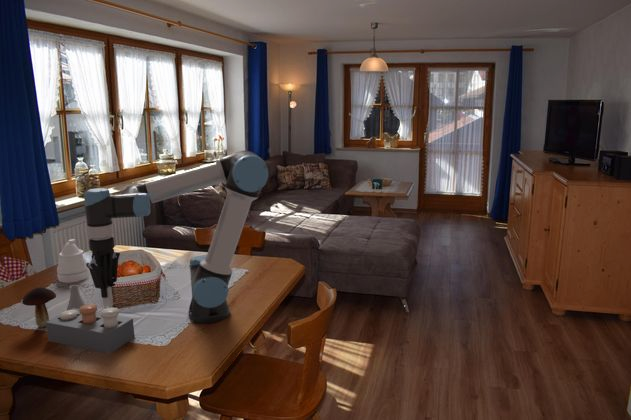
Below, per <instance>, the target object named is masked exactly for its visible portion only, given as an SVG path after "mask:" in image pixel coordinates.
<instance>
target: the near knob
mask: <svg viewBox="0 0 631 420" xmlns="http://www.w3.org/2000/svg"><path fill="white" fill-rule="evenodd" d="M119 311H120V310H119V308H118V307H108V308H107V307H106V308H104V309H102V310H100V312H99V313H101V317H102V318H103V321H104V327H105V328H110V329H112V328H114V327H116V326H117V325H118V318H117V316H119V313H120V312H119Z"/></svg>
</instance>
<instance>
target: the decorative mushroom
mask: <svg viewBox="0 0 631 420" xmlns="http://www.w3.org/2000/svg"><path fill="white" fill-rule="evenodd" d="M56 298H57V294H56V293H55V292H54V291H53V290H52V289H49V288H46V287H43V286H42V287H41V286H38V287H34V288H33V289H31V290H29V291H28V292H27V293H26V294H25V295H23V298H22V301H21V304H23V305H25V306H29V307H30V306H32V307H33V306H35V307H34V315H35V319H34V320H35V324H36V326H38V328H47V326H46V322H48V321H50V317H49V310H48V308H47V306H46V304H47V303H48V302H50V301H52V300H54V299H56Z"/></svg>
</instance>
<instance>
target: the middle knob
mask: <svg viewBox="0 0 631 420" xmlns="http://www.w3.org/2000/svg"><path fill="white" fill-rule="evenodd" d="M96 312H98V305H97V304H95V303H90V304H86V305H84V306H81V307H80V308H79V313H80V314H82V321H83V324H88V325H91V324H92V323H94V322H96V321H97V318H96Z"/></svg>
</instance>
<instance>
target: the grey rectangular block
mask: <svg viewBox="0 0 631 420" xmlns="http://www.w3.org/2000/svg"><path fill="white" fill-rule="evenodd" d="M71 310H76V311H77V312H78V316H77V317H76V318H74V319H72V320H70V321H66V320H61V319H60V314H59V315H58V316H56V317H53V318H52V319H49V321H48V322H46V332H47V338H48V342H50V343H55V344H61V345H65V346H70V347H71V346H72V347H76V348H80V349H86V350H91V351H95V352H100V353H106V354H112V353H113V352H115V351H116V350H118V349H119V348H121V347H122V346H124V345H125V344H126V343H128V342H130V341H131V340H132V339H134V338H135V327H134V326H135V325H134V319H133V317H129V316H128V317H126V316H121V315H117V318H118V325H117V326H116V327H114V328H112V329H110V328H105V327H104V321H103V318H102V317H101V313H100V312H98V311H96V318H97V321H96V322H94V323H92V324H91V325H88V324H83V321H82V314H80V313H79V309H75V308H73V309H71Z"/></svg>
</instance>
